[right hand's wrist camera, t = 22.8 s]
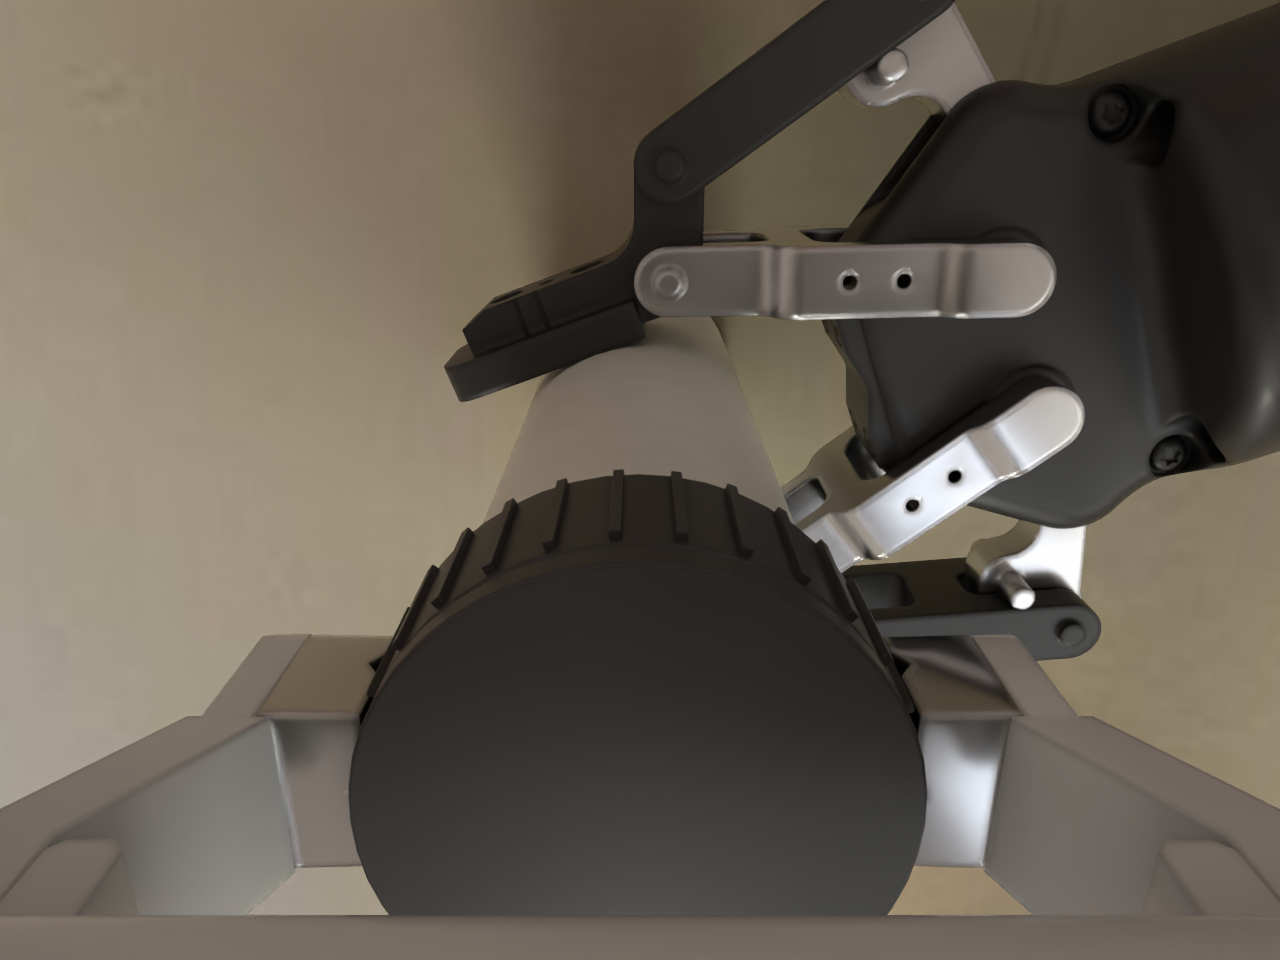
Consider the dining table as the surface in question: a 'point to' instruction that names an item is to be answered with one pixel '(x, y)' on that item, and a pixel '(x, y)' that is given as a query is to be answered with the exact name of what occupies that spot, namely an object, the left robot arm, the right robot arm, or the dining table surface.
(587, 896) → the lid
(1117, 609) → the dining table surface
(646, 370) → the white bottle
